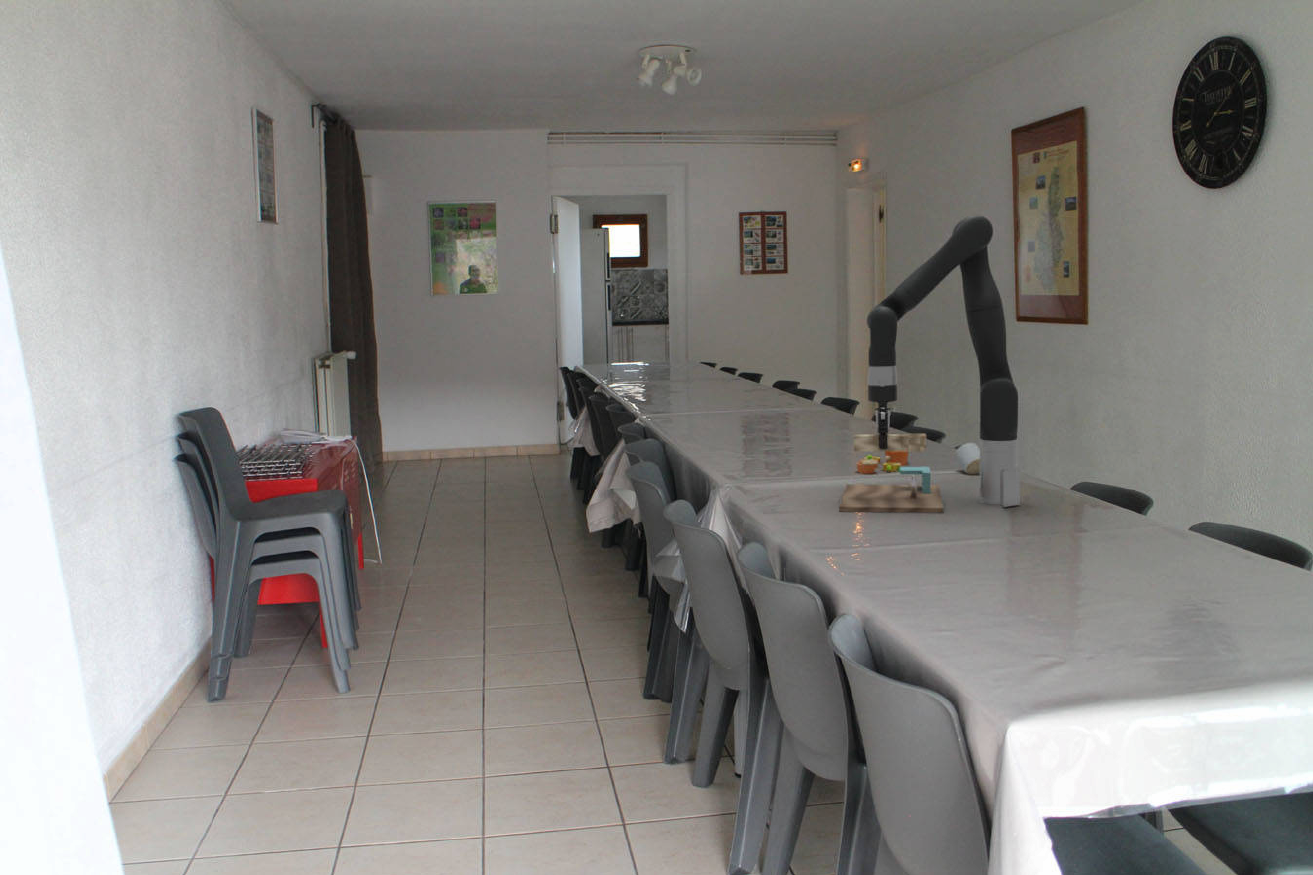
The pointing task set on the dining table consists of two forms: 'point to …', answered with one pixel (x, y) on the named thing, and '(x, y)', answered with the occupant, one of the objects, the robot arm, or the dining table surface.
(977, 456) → the ceramic mug
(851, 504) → the walnut board
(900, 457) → the toy tea set
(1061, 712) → the dining table surface
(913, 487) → the rod
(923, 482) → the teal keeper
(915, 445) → the maple link
